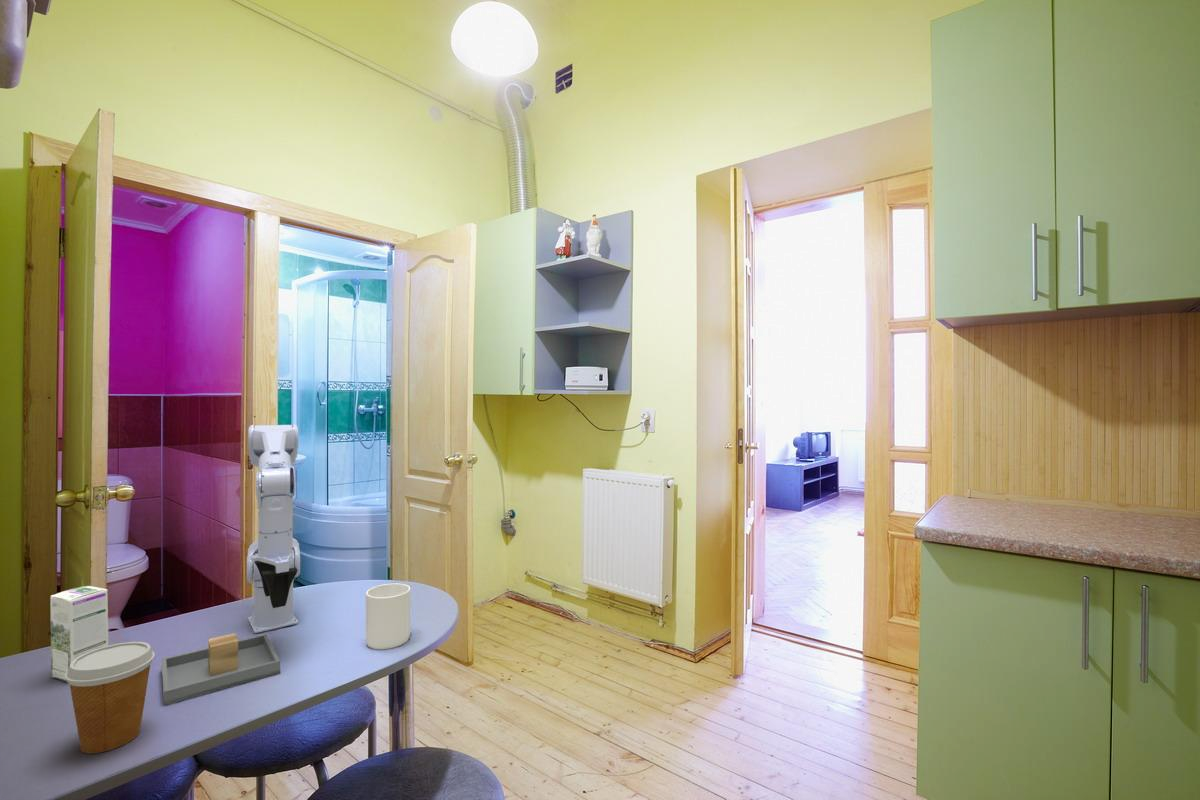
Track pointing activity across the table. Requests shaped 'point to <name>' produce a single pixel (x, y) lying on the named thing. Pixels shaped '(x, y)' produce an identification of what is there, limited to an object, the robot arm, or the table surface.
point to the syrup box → (77, 625)
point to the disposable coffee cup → (109, 694)
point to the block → (222, 654)
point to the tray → (193, 678)
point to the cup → (387, 615)
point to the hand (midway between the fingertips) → (275, 600)
